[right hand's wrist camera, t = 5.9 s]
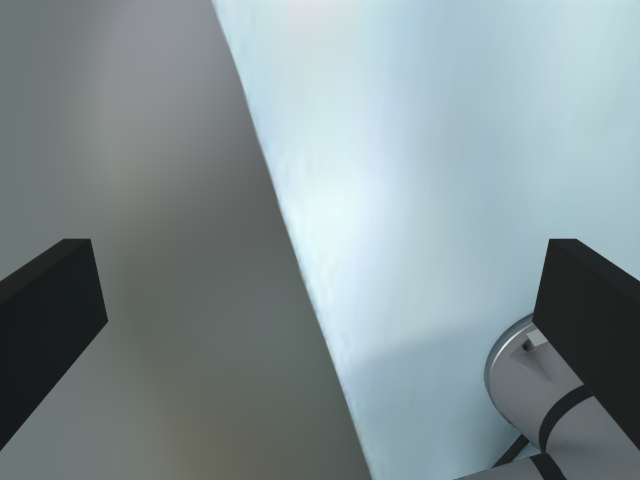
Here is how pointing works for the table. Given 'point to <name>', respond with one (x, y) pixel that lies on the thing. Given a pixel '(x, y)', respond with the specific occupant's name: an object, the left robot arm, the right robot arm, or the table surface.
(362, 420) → the table surface
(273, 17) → the table surface
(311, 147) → the table surface
